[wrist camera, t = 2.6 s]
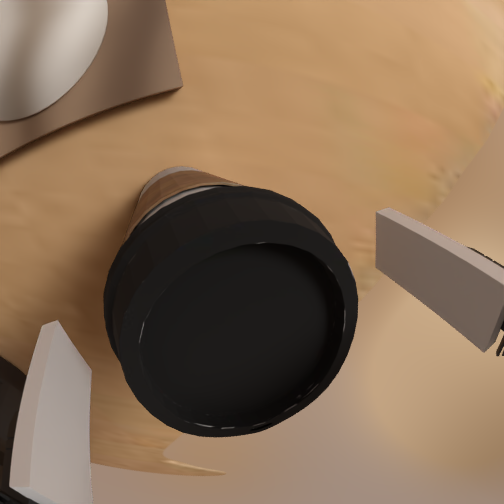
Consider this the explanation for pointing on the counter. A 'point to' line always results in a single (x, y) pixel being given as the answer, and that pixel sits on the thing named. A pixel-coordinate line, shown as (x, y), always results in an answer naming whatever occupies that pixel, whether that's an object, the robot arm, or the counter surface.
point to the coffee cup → (227, 305)
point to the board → (78, 62)
